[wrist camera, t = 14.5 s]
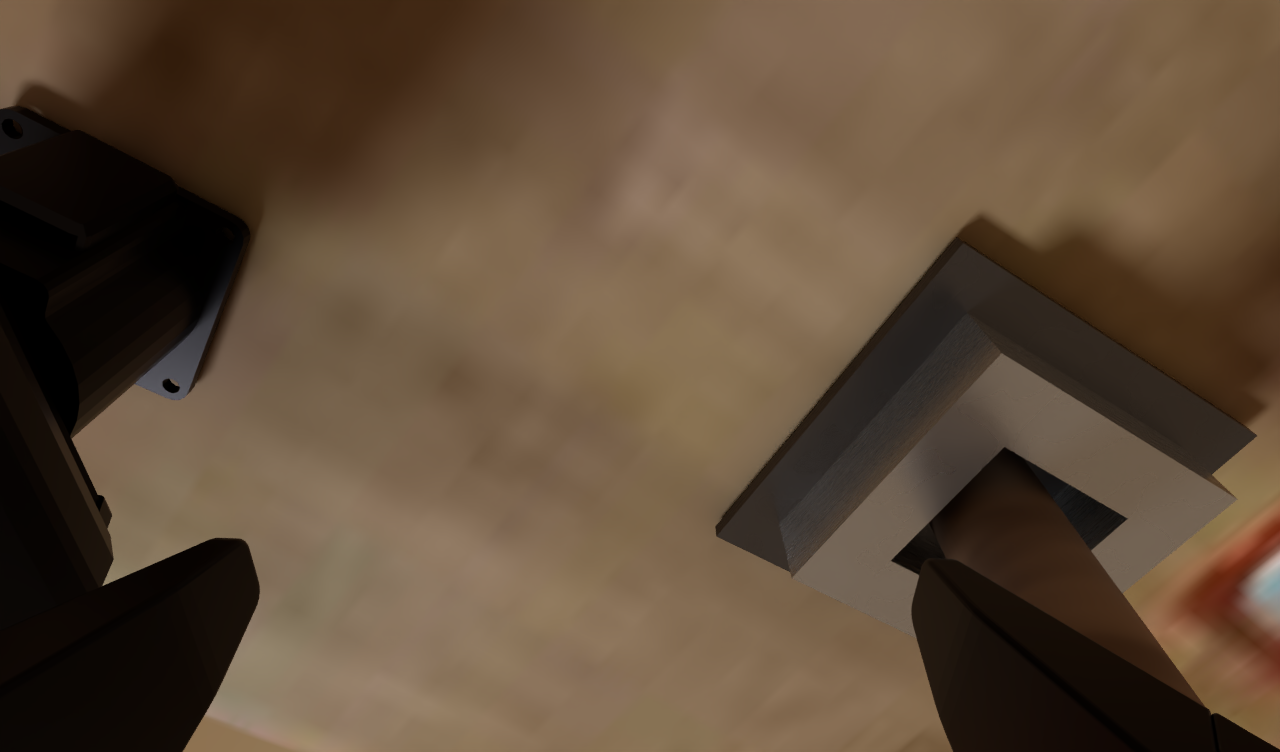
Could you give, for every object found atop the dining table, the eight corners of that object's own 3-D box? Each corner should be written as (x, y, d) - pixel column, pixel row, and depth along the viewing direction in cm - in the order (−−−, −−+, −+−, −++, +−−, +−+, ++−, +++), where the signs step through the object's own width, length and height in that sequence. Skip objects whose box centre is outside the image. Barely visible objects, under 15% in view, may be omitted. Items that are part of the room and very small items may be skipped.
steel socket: (980, 655, 30) (1012, 725, 27) (715, 526, 27) (723, 590, 24) (1246, 426, 25) (1317, 484, 22) (956, 236, 22) (999, 278, 19)
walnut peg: (956, 546, 27) (1305, 1225, 13) (897, 485, 25) (1210, 1161, 11) (1050, 490, 25) (1550, 1167, 11) (993, 422, 24) (1475, 1089, 10)
